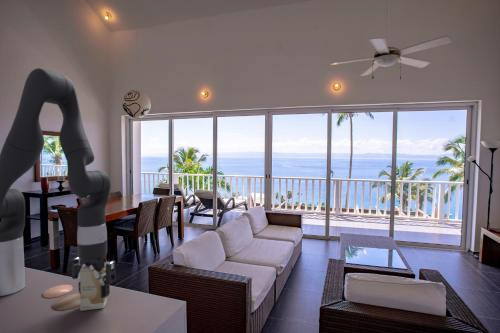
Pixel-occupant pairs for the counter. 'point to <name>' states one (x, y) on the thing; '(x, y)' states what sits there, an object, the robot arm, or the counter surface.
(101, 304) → the skincare box
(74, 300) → the walnut coaster
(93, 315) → the counter surface
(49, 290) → the peach glossy dome
